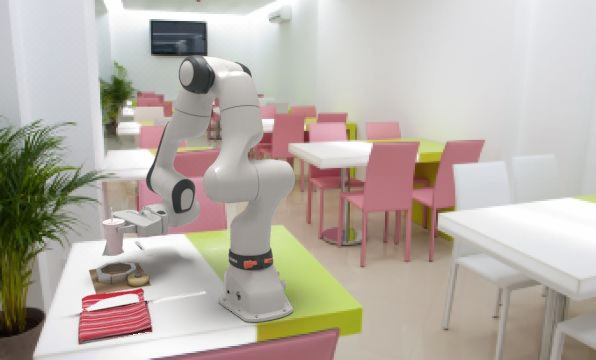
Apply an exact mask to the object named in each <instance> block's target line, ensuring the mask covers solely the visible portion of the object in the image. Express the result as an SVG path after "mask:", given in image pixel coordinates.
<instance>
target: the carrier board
mask: <svg viewBox="0 0 596 360" xmlns="http://www.w3.org/2000/svg"><path fill="white" fill-rule="evenodd" d="M132 263H133V264H135V266H136V269H137V273H134V274H131V275H129V276H128V281H127V282H123V283H117V284H106V283H100V282H98V280H97V276H96V269H97V268H92V269H91V268H90V269H88V272H89V275H90V277H91V278H90V279H91V282H92V285H93V289H94V292H95V294H104V293H113V292H122V291H129V290H134V289H140V288H145V287H149V286H152V284H151V282H150V274H149V273H147V272H145V271H144V270H143V268H142V267H141V264H140V263H139V262H132ZM125 272H127V271H115V272H108V273H107V274H112V275H113V274H119V273H125Z"/></svg>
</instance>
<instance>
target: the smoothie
mask: <svg viewBox="0 0 596 360" xmlns="http://www.w3.org/2000/svg"><path fill="white" fill-rule="evenodd" d="M113 212H114V211H113V207H110V214H111V218H108V219H106V220H103V221H102V225H101V226H102V227H103V230H104V235H105V240H106V242H107V246H108V251H109V254H111V255H116V254H120V253H122V249H123V246H124V244H123V243H124V233H123V234H119V233H117V230H116V228H117V227H121V226H123V227H124V225H125V220H123V219H113ZM122 254H123V253H122ZM120 255H121V254H120Z"/></svg>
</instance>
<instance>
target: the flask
mask: <svg viewBox="0 0 596 360" xmlns="http://www.w3.org/2000/svg"><path fill="white" fill-rule="evenodd" d="M124 253H125V251H124V249H123V248H122V253H120V254H116V255H111V254H109V251H108V246H107V241H106V243H105V245H104V248H103V252H102V256H106V257H115V256H116V257H117V256H119V255H122V254H124Z"/></svg>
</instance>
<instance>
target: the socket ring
mask: <svg viewBox="0 0 596 360" xmlns="http://www.w3.org/2000/svg"><path fill="white" fill-rule="evenodd" d="M133 263H134V262H127V261H117V262H116V261H115V262H109V263H104V264H102V265H100V266H99V267H97V268H95V269H96V276H97V280H98V282H100V283H106V284H117V283H123V282H127V281H128V276H129V275H131V274H134V273H137V269H136V266H135V264H133ZM115 271H127V272H125V273H119V274H113V275H112V274H107V273H108V272H115Z"/></svg>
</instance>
